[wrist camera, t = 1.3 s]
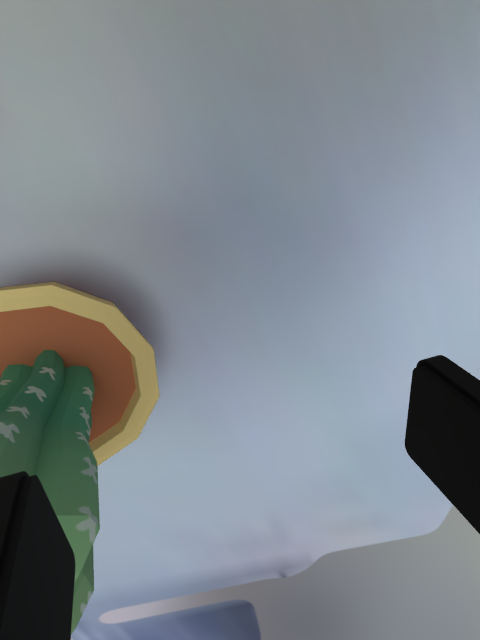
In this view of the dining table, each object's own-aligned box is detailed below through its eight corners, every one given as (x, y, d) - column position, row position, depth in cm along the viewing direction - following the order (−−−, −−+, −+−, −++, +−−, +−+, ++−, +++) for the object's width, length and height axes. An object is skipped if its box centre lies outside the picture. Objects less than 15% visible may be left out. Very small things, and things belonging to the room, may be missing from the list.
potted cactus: (-56, 231, 29) (-545, 566, 7) (163, 264, 34) (262, 508, 13) (-50, 412, 34) (-314, 904, 13) (137, 415, 40) (174, 763, 18)
